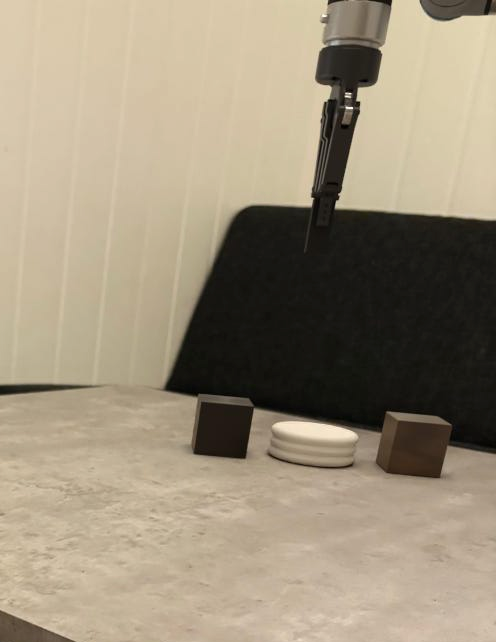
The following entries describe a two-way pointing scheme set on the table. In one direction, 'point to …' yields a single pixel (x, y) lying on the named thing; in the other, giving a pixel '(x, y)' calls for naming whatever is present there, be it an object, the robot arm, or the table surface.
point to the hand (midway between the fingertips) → (315, 253)
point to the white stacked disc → (312, 444)
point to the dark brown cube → (222, 426)
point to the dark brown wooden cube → (413, 444)
